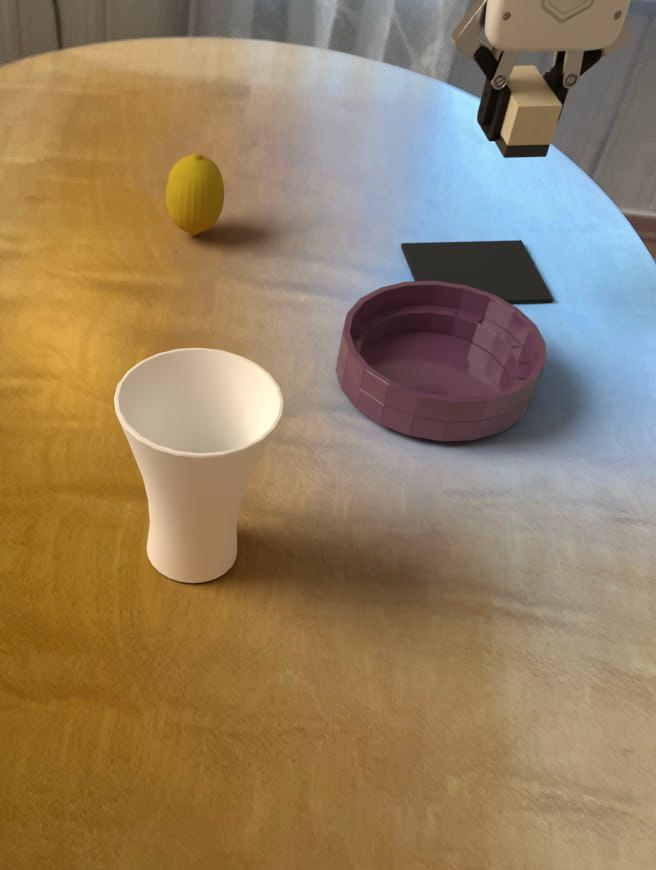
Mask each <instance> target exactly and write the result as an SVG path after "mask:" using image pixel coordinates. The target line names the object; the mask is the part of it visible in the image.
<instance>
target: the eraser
mask: <svg viewBox="0 0 656 870" xmlns="http://www.w3.org/2000/svg"><path fill="white" fill-rule="evenodd" d="M508 87H509V88H510V90H511V94H510V98H509V102H508V105H507V109H506V113H505V117H504V120H503V124H502V128H501V131H500V135H499V138H498V139H497V140H496V141H493V142H494V143H495V145H496V147H497V148H498V150H499V152H500V153H501V156H502V157H503V158H504V159H512V158H513V159H515V158H517V159H518V158H546V157H547V155H548V153H549V149H550V146H551V143H552V140H553V138H554V134H555V131H556V127H557V124H558V123H557V121H558V118H559V115H560V112H561V109H562V104H561V103H560V101H559V100H558V98H557V97H556V95H555V94H554V93H553V91H552V90H551V88H550V87H549V86H548V84H547V83H546V81H545V80H544V78H543V75H542V74H541V72H540V71H539V69H538V68H537V67H536V65H514V67H513V70H512V72H511V75H510V77H509V82H508ZM562 110H563V109H562ZM561 113H562V112H561ZM560 116H561V115H560ZM559 119H560V118H559ZM558 122H559V121H558Z"/></svg>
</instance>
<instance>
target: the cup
mask: <svg viewBox="0 0 656 870" xmlns="http://www.w3.org/2000/svg"><path fill="white" fill-rule="evenodd" d="M113 403H114V409H115V415H116V417H117V419H118V421H119V424H120V426H121V428H122V430H123V433H124V434H125V437H126V440H127V441H128V445H129V447H130V449H131V451H132V454H133V456H134V459H135V461H136V464H137V467H138V469H139V471H140V474H141V476H142V480H143V484H144V488H145V492H146V498H147V503H148V504H147V505H148V514H149V527H148V536H147V543H146V555H147V558H148V560H149V562H150V564H151V565H152V567H154V569H156V571H158V572H159V574H161V575H163V576H165V577H166V578H168V579H170V580H174V581H176V582H179V583H187V584H188V583H189V584H198V583H206V582H209V581H213V580H216V579H218V578H219V577H221V576H223V575H225V574H226V573H228V571H229V570H231V568H232V567H233V566H234V563H235V562H236V560H237V556H238V532H237V531H238V529H237V525H238V519H239V515H240V513H239V512H240V509H241V505H242V501H243V498H244V496H245V492H246V491H247V487H248V484H249V481H250V479H251V477H252V475H253V473H254V471H255V469H256V467H257V465H258V464H259V461H260V460H261V458H262V455H263V454H264V452H265V449H266V448H267V446H268V444H269V443H270V440H271V439H272V437H273V435H274V434H275V431H276V430H277V428H278V426H279V425H280V423H281V421H282V419H283V417H284V411H285V410H284V409H285V399H284V396H283V393H282V388H281V387H280V385H279V384H278V383H277V382H276V380H275V379H274V378H273V376H272V375H271V373H269V372H268V371H266V369H264V368H263V367H262V366H260V365H259V364H257V363H256V362H254V361H252V360H250V359H248V358H246V357H243V356H241V355H239V354H236V353H232V352H228V351H225V350H221V349H216V348H206V347H205V348H204V347H203V348H202V347H190V348H189V347H188V348H187V347H186V348H176V349H171V350H168V351H167V350H166V351H163V352H159V353H156V354H154V355H151V356H149V357H147V358H145V359H143V360H140V361H139V362H138V363H137V364H135V365H134V366H132V367H131V368H130V369H129V370H127V372H126V373H125V374H124V375H123V377H122V379H120V381H119V382H118V383H117V385H116V389H115V394H114V396H113Z"/></svg>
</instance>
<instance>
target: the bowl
mask: <svg viewBox="0 0 656 870" xmlns="http://www.w3.org/2000/svg"><path fill="white" fill-rule="evenodd" d="M342 327H343V328H342V333H341V338H340V344H339V349H338V355H337V361H336V367H335V372H336V376H337V379H338V383H339V387H340V390H341V392H342V393H343V394H344V395H345V397H346V398H347V399H348V400H349V402H350V403H351V404H352V405H353V406H354V407H355V409H356V410H358V411H359V412H361V413H362V414H363V415H365V416H367V417H368V418H370V419H371V420H373V421H374V422H375V423H377V424H378V425H380V426H383V427H385V428H388V429H391V430H393V431H396V432H399V433H401V434H404V435H406V436H410V437H414V438H420V439H426V440H432V441H439V442H461V441H463V442H464V441H476V440H479V439H482V438H487V437H489V436H493V435H496V434H500V433H502V432H504V431H505V430H507V429H509V428H510V427H511V426H512V425H514V424H516V423H518V422H519V421H520V420H521V419H522V418H523V416H524V415H525V414H526V412H527V410H528V408H529V406H530V405H531V404H532V402H533V400H534V399H533V398H534V396H535V393H536V390H537V388H538V385H539V382H540V380H541V377H542V374H543V372H544V369H545V366H546V364H547V344H546V342H545V340H544V337H543V336H542V333H541V331H540V330H539V328H538V326H537V325H536V323H534V322H533V320H532V319H530V318H529V317H528V316H527V315H526V314H525V313H524V312H523V311H522V310H521V309H520V308H519V307H517V306H515V305H514V304H510V303H508V302H506V301H505V300H503V299H501V298H499V297H497V296H496V295H493V294H491V293H488V292H485V291H482V290H479V289H475V288H472V287H469V286H465V285H461V284H454V283H447V282H440V281H414V280H413V281H412V280H411V281H410V280H409V281H402V282H398V283H394V284H389V285H385V286H382V287H379V288H377V289H375V290H373V291H371V292H369V293H367V294H366V295H363V296H361V297H360V298H359V299H358V300H357V301H356V302H355V303H354V304H353V306H352V307H351V308H350V309H349V310H348V311H347V313H346V315H345V318H344V324H343V326H342Z"/></svg>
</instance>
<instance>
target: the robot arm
mask: <svg viewBox="0 0 656 870" xmlns="http://www.w3.org/2000/svg"><path fill="white" fill-rule="evenodd" d="M631 1H632V0H475V2H474V3H473V4H472V6H471V8H469V10H468V11H467V12H466V14H465V15H464V16H463V18H462V19H461V20H460V21H459V23H458V24H457V26H456V27H455V28H454V30H453V31H452V33H451V36H450V38H451V41H452V42H453V44H454V46H455V47H456V49H458V50H459V51H460V52H461V53H462V54H464V55H466V57H468V58H470V59H471V60H472V61H474V62H475V63H476V64H477V66H478V67H479V69H480V70H481V72H482V73H483V74H484V76H485V82H484V84H483V89H482V93H481V97H480V101H479V105H478V108H477V109H478V110H477V113H476V121H477V124H478V125H479V127H480V129H481V130H482V133H483V134H484V135H485V137H486V139H487V141H488V142H494V141H496V140H497V139H498V138H499V135H500V131H501V128H502V124H503V120H504V117H505V113H506V109H507V105H508V102H509V98H510V94H511V90H510V88H509V87H508V82H509V77H510V75H511V72H512V70H513V67H514V66H516V63H517V60H518V57H519V55H520V53H521V52H522V53H523V52H524V53H525V52H553V58H552V64H551V68H550V70H549V71H545V72H544V75H542V77H543V78H544V80H545V81H546V83H547V84H548V86H549V87H550V88H551V90H552V91H553V93H554V94H555V95H556V97H557V98H558V100H559V101H560V103H561V104H562V109H561V112H560V115H559V118H558V121H557V124H558V123H559V120H560V119H561V114H562V112H563V109H564V106H565V103H566V100H567V95H568V93H569V90H570V89H573V88H574V87H575V86H576V85H577V84H578V82H579V80H580V77H581V76H582V75H584V74H585V73H587V71H589V70H590V69H591V68H592V67H593V66H595V65H596V64H597V63H598V62H599V61H600V60H601V58H603V57H606V56H609V55H610V54H611V53H614V52H616V51H617V50H619V49H620V48H622V47H624V46H626V45H627V44H628V42H629V41H630V31H629V25H628V20H627V14H628V10H629V8H630V4H631ZM483 29H484V33H485V34H484V35H485V38H486V39H487V40H488V43H489V44H490V46H488V44H487V43H486V42H485V40H482V39H481V38H479V35H480V33H481V32H482V30H483Z"/></svg>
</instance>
